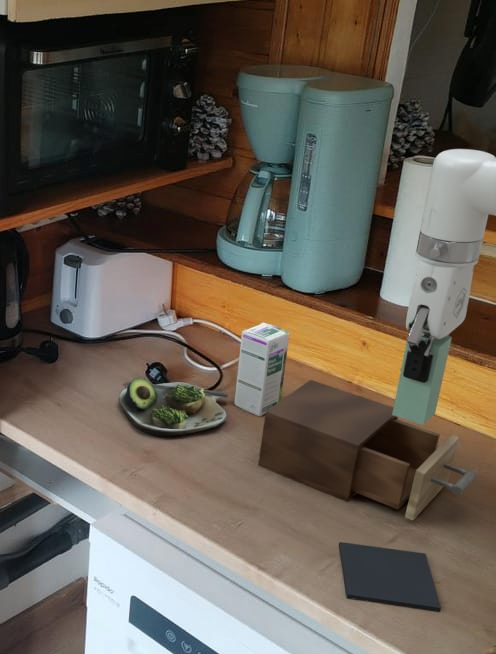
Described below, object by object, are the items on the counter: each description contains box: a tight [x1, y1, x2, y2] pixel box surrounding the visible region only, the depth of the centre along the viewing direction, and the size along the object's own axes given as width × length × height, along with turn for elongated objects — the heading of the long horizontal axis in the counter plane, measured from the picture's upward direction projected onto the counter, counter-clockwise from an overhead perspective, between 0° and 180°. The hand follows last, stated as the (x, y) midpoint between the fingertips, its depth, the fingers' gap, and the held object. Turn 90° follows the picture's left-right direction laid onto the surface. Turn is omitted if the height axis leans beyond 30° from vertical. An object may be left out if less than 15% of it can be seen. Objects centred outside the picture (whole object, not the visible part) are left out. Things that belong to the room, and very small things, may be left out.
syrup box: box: [233, 322, 291, 417], centre depth 155 cm, size 6×6×14 cm
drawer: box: [351, 418, 478, 521], centre depth 132 cm, size 18×13×8 cm
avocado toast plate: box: [118, 378, 229, 437], centre depth 155 cm, size 19×18×5 cm
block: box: [392, 329, 453, 426], centre depth 126 cm, size 4×4×12 cm
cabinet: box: [257, 379, 399, 503], centre depth 139 cm, size 15×15×10 cm
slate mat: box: [338, 541, 442, 612], centre depth 117 cm, size 11×11×1 cm
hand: (422, 371), depth 126 cm, fingers closed on block, 4 cm apart
